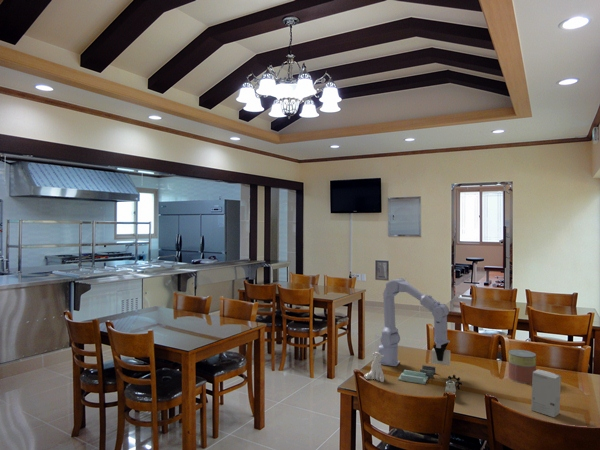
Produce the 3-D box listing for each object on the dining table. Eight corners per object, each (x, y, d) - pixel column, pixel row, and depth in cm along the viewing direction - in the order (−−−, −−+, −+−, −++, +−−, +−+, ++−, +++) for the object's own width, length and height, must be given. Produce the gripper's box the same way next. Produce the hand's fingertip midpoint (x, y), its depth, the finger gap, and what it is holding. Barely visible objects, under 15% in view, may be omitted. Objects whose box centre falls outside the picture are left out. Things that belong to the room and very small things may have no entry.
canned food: (535, 376, 192) (534, 351, 192) (537, 385, 182) (537, 358, 182) (508, 373, 197) (507, 348, 197) (509, 381, 186) (508, 355, 186)
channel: (419, 375, 194) (419, 369, 194) (422, 371, 200) (422, 364, 200) (433, 378, 191) (433, 371, 191) (435, 373, 197) (435, 366, 197)
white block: (431, 363, 193) (431, 350, 193) (432, 360, 196) (432, 348, 196) (449, 365, 189) (449, 352, 189) (450, 363, 193) (450, 350, 193)
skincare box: (531, 410, 157) (530, 371, 157) (537, 406, 161) (537, 368, 161) (555, 418, 150) (555, 377, 150) (561, 413, 154) (561, 374, 154)
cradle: (398, 379, 189) (398, 374, 189) (402, 374, 196) (402, 369, 196) (425, 384, 183) (425, 378, 183) (428, 378, 191) (428, 373, 191)
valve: (458, 401, 165) (462, 391, 176) (458, 385, 165) (462, 375, 176) (441, 398, 169) (446, 388, 179) (441, 382, 169) (446, 373, 179)
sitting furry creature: (363, 379, 190) (363, 353, 190) (368, 373, 198) (368, 348, 198) (383, 382, 186) (383, 356, 186) (388, 376, 194) (387, 351, 194)
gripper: (447, 335, 185) (447, 365, 185) (451, 327, 198) (451, 356, 198) (431, 333, 188) (431, 363, 188) (436, 326, 201) (436, 354, 201)
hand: (440, 359), depth 193 cm, fingers closed on white block, 4 cm apart
